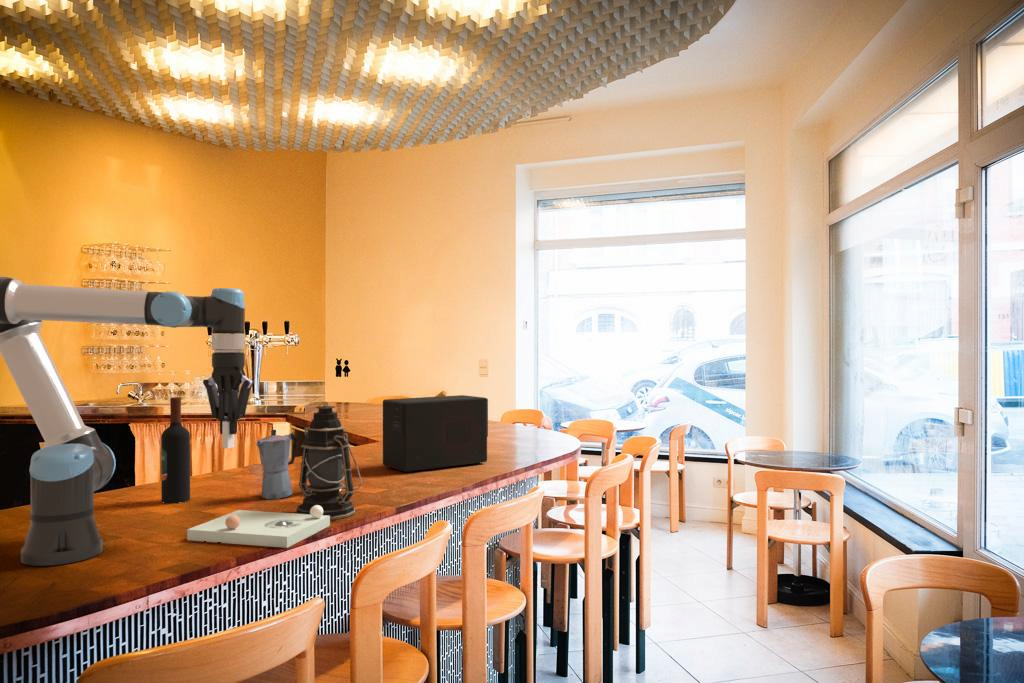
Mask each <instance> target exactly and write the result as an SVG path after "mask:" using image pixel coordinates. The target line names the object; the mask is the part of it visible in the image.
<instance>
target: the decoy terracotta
mask: <svg viewBox="0 0 1024 683" xmlns="http://www.w3.org/2000/svg"><path fill="white" fill-rule="evenodd" d="M225 524H226V526H227V527H228V528H229V529H235V528H237V527H238V526H239V524H240V519H239V517H238V516H236V515H231V516H229V517H228V518H227V519H226V522H225Z"/></svg>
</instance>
